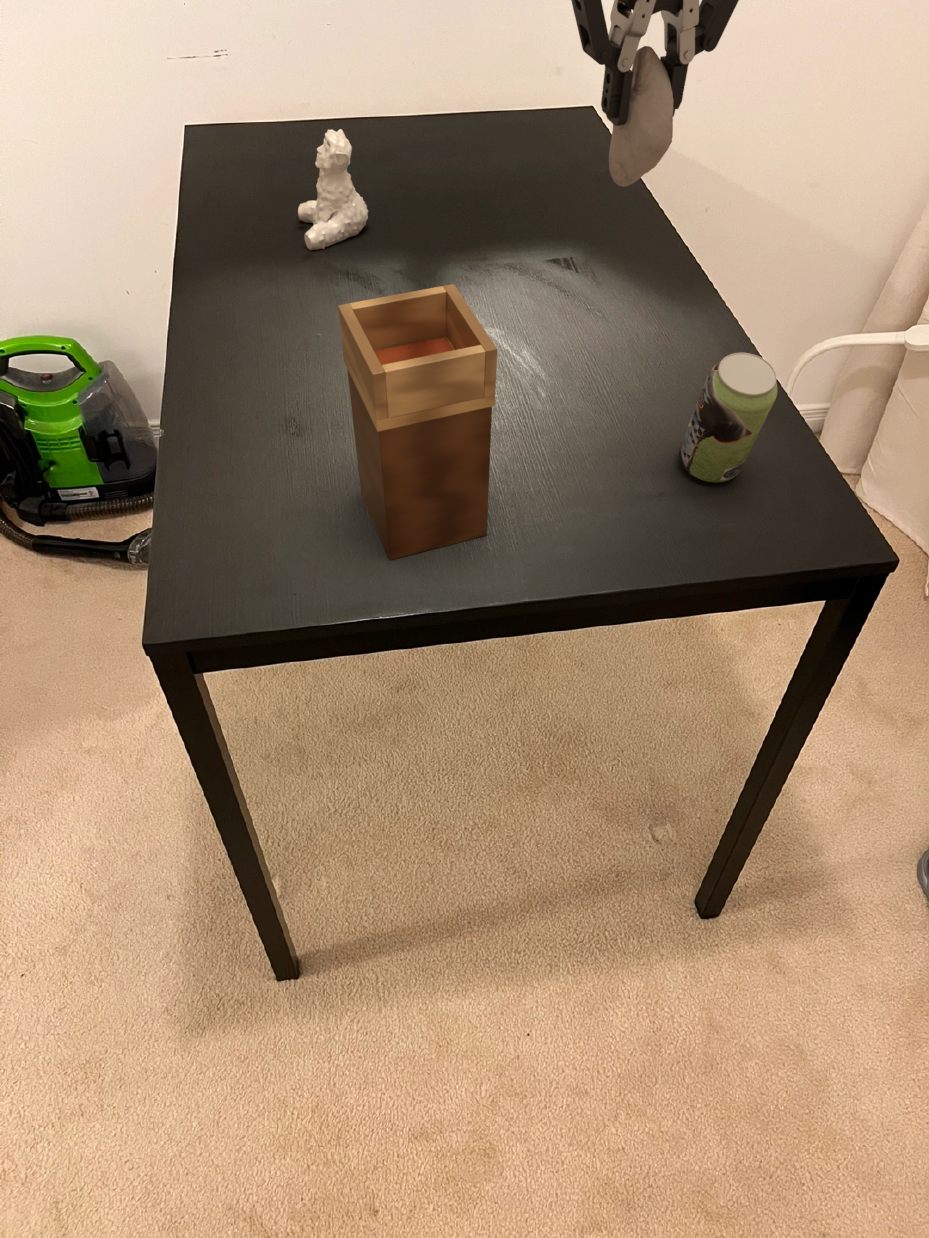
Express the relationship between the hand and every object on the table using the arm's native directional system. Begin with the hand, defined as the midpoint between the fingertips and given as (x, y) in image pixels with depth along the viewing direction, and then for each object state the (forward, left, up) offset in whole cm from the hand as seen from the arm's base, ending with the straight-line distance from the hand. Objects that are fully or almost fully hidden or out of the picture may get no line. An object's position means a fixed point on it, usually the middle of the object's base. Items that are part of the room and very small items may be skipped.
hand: (639, 117), depth 67 cm
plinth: (+21, +8, -28) cm, 36 cm away
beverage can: (-7, +12, -28) cm, 31 cm away
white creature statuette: (+15, -45, -28) cm, 55 cm away
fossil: (0, 0, -5) cm, 5 cm away
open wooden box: (+21, +8, -14) cm, 26 cm away
